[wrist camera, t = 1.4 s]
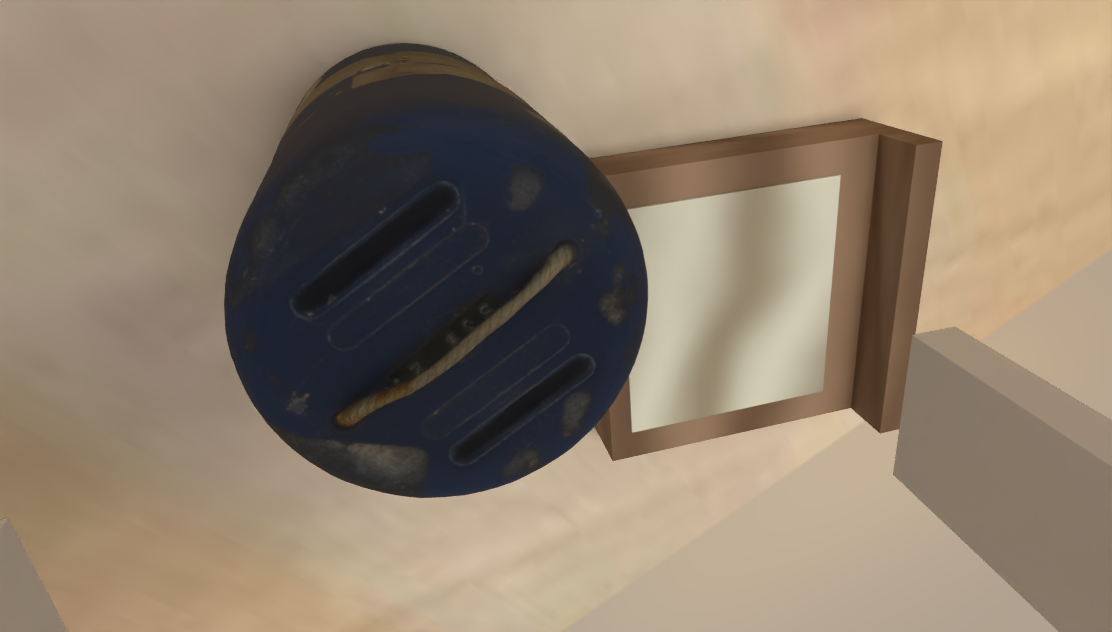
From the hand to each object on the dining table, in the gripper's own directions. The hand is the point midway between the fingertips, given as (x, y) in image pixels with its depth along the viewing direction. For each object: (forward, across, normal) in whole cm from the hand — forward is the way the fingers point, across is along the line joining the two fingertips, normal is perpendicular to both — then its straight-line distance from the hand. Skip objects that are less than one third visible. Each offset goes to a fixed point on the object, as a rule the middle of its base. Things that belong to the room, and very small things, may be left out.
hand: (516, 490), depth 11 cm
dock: (+22, +14, -8) cm, 27 cm away
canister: (+22, 0, 0) cm, 22 cm away
